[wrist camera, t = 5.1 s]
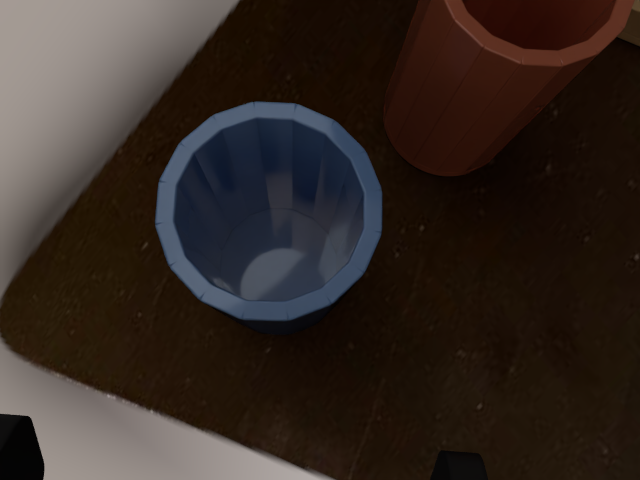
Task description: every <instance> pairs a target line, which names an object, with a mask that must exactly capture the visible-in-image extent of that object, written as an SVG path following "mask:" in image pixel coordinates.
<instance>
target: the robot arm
mask: <svg viewBox="0 0 640 480" xmlns="http://www.w3.org/2000/svg"><path fill="white" fill-rule="evenodd" d="M43 477H44V461H43V457H42V454H41V450H40V447H39V443H38V440H37V437H36V433H35V429H34V426H33V423H32V420H31V418H30V417H29V416H20V415H9V414H0V480H43ZM430 480H488V478H487V474H486V470H485V466H484V462H483V459H482V457H481V456H480V454H478V453H467V452H455V451H440V452H439V454H438V457H437V460H436V463H435V466H434V469H433V472H432V475H431V478H430Z"/></svg>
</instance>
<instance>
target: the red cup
mask: <svg viewBox="0 0 640 480" xmlns="http://www.w3.org/2000/svg"><path fill="white" fill-rule="evenodd" d="M634 1H635V0H419V2H418V5H417V7H416V10H415V13H414V16H413V19H412V21H411V24H410V27H409V30H408V33H407V35H406V38H405V41H404V44H403V47H402V49H401V52H400V55H399V58H398V61H397V63H396V66H395V69H394V72H393V75H392V77H391V80H390V83H389V86H388V89H387V91H386V94H385V100H384V105H383V122H384V127H385V130H386V133H387V136H388V138H389V140H390V142H391V144H392V145H393V147H394V148H395V150H396V151H397V152H398V153H399V154H400V156H401V157H402V158H404V159H405V160H406V161H407V162H408V163H410V164H411V165H413V166H414V167H416V168H418V169H420V170H422V171H425V172H427V173H430V174H434V175H439V176H459V175H464V174H468V173H471V172H473V171H476V170H478V169H480V168H481V167H483V166H484V165H486V164H487V163H488V162H489V161H491V160H492V159H493V158H494V157H495V156H496V155H497V154H498V153H499V152H500V151H501V150H502V149H503V148H504V147H505V146H506V145H507V144H508V143H509V142H510V141H511V140H512V139H513V138H514V137H515V136H516V135H517V134H518V133H519V132H520V131H521V130H522V129H523V128H524V127H526V126H527V125H528V124H529V123H530V122H531V121H532V120H533V119H534V118H535V117H536V116H537V115H538V114H539V113H540V112H541V111H542V110H543V109H544V108H545V107H546V106H547V105H548V104H549V103H550V102H551V101H552V100H553V99H554V98H555V97H556V96H557V95H558V94H559V93H560V92H561V91H562V90H563V89H564V88H565V87H566V86H567V85H568V84H569V83H570V82H571V81H572V80H573V79H574V78H576V77H577V76H578V75H579V74H580V73H581V72H582V71H583V70H584V69H585V68H586V67H587V66H588V65H589V64H590V63H591V62H592V61H593V60H594V59H595V58H596V57H597V56H598V55H599V54H600V53H601V52H602V51H603V50H604V49H605V48H606V47H607V46H608V45H609V44H610V43H611V42H612V41H613V40H614V39H615V38H616V37H617V36H618V35H619V34H620V33H621V32H622V31H623V29H624V28H625V26H626V23H627V20H628V18H629V15H630V12H631V9H632V7H633V4H634Z"/></svg>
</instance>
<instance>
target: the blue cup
mask: <svg viewBox="0 0 640 480" xmlns="http://www.w3.org/2000/svg"><path fill="white" fill-rule="evenodd" d="M381 190H382V188H381V186H380V183H379V181H378V178H377V176H376V174H375V171H374V169H373V166H372V164H371V162H370V159H369V157H368V154H367V153H366V152H365V149H364V148H363V147H362V146H361V145H360V144H359V143H358V142H357V141H356V140H355V139H354V138H353V137H352V136H351V135H350V134H349V133H348V132H347V131H346V130H345V129H344V128H343V127H342V126H341V125H340V124H339V123H338V122H335V120H333V119H331V118H329V117H326V116H324V115H322V114H320V113H317V112H315V111H313V110H310V109H308V108H306V107H304V106H301V105H299V104H297V105H296V104H295V103H276V102H250V103H247V104H244V105H241V106H238V107H235V108H232V109H229V110H226V111H223V112H220V113H217V114H214V115H213V116H211V117H210V118H208V119H207V120H206V121H205V122H204V123H202V124H201V125H200V126H199V127H198V128H196V129H195V130H194V131H193V132H192V133H190V134H189V135H188V136H187V137H185V138H184V139H183V140H182V141H181V142H180V144H178V146H177V148H176V150H175V151H174V153H173V155H172V157H171V159H170V161H169V163H168V165H167V166H166V168H165V170H164V172H163V174H162V176H161V178H160V182H159V183H158V193H157V205H156V216H155V224H156V226H155V227H156V230H157V233H158V236H159V239H160V242H161V245H162V248H163V251H164V254H165V257H166V260H167V263H168V265H169V266H170V269H171V270H172V271H173V272H174V273H175V274H176V275H177V277H178V278H179V279H180V280H181V281H182V282H183V283H184V284H185V285H186V286H187V288H188V289H189V290H190V291H191V292H192V293H193V294H194V295H195V296H196V297H197V299H199V300H200V301H201V302H203V303H205V304H206V305H208V306H210V307H211V308H213V309H215V310H216V311H218V312H220V313H222V314H223V315H225V316H227V317H228V318H230V319H232V320H233V321H235V322H237V323H239V324H241V325H243V326H246V327H248V328H250V329H252V330H254V331H257V332H259V333H262V334H273V335H289V334H293V333H296V332H299V331H302V330H305V329H307V328H309V327H311V326H314V325H316V324H317V323H319V322H320V321H321V320H322V319H323V318H324V317H325V316H326V315H327V314H328V313H329V312H330V311H331V310H332V309H333V308H334V307H335V306H336V305H337V304H338V303H339V302H340V301H341V300H342V298H343V297H344V296H345V295H346V294H347V293H348V292H349V291H350V289H351V288H352V287H353V286H354V285H355V284H356V283H357V282H358V280H359V279H360V278H361V277H362V276H363V274H364V273H365V272H366V270H367V267H368V265H369V263H370V260H371V258H372V256H373V253H374V251H375V249H376V246H377V244H378V242H379V240H380V237H381V233H382V191H381Z"/></svg>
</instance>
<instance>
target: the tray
mask: <svg viewBox="0 0 640 480" xmlns="http://www.w3.org/2000/svg"><path fill="white" fill-rule="evenodd" d="M617 37H618V38H621V39H623V40H625V41H628V42H630V43H633V44H635V45H637V46H640V0H635V1H634V4H633V7H632V9H631V12H630V15H629V18H628V20H627V23H626V26H625V28H624V29H623V31H622V32H621V33H620V34H619V35H618V36H617Z"/></svg>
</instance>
